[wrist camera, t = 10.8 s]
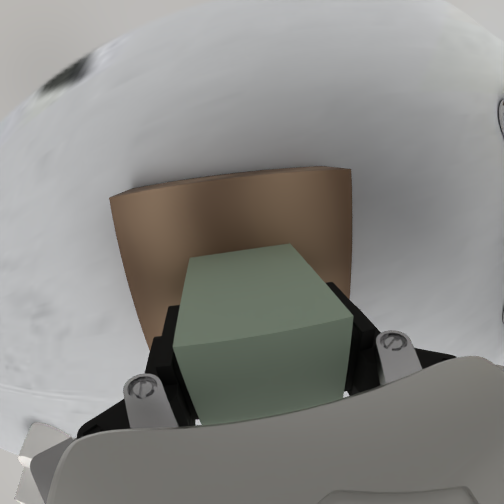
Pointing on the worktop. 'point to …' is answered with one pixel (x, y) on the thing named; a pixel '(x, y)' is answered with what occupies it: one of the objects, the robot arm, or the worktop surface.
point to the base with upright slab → (34, 444)
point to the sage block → (260, 335)
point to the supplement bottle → (501, 115)
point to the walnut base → (230, 228)
